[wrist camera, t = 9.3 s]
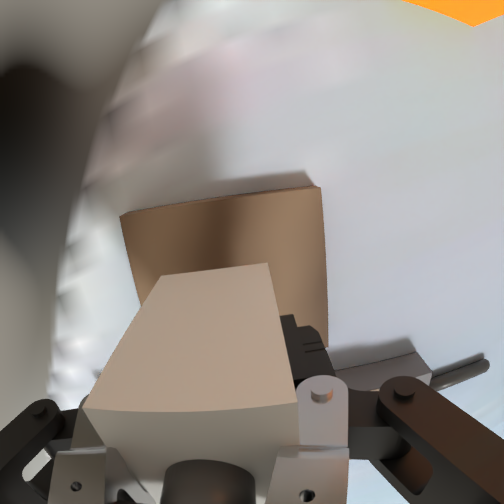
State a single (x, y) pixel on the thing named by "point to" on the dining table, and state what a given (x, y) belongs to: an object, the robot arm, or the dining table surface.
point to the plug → (200, 389)
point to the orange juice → (465, 9)
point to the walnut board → (239, 245)
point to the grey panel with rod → (406, 373)
